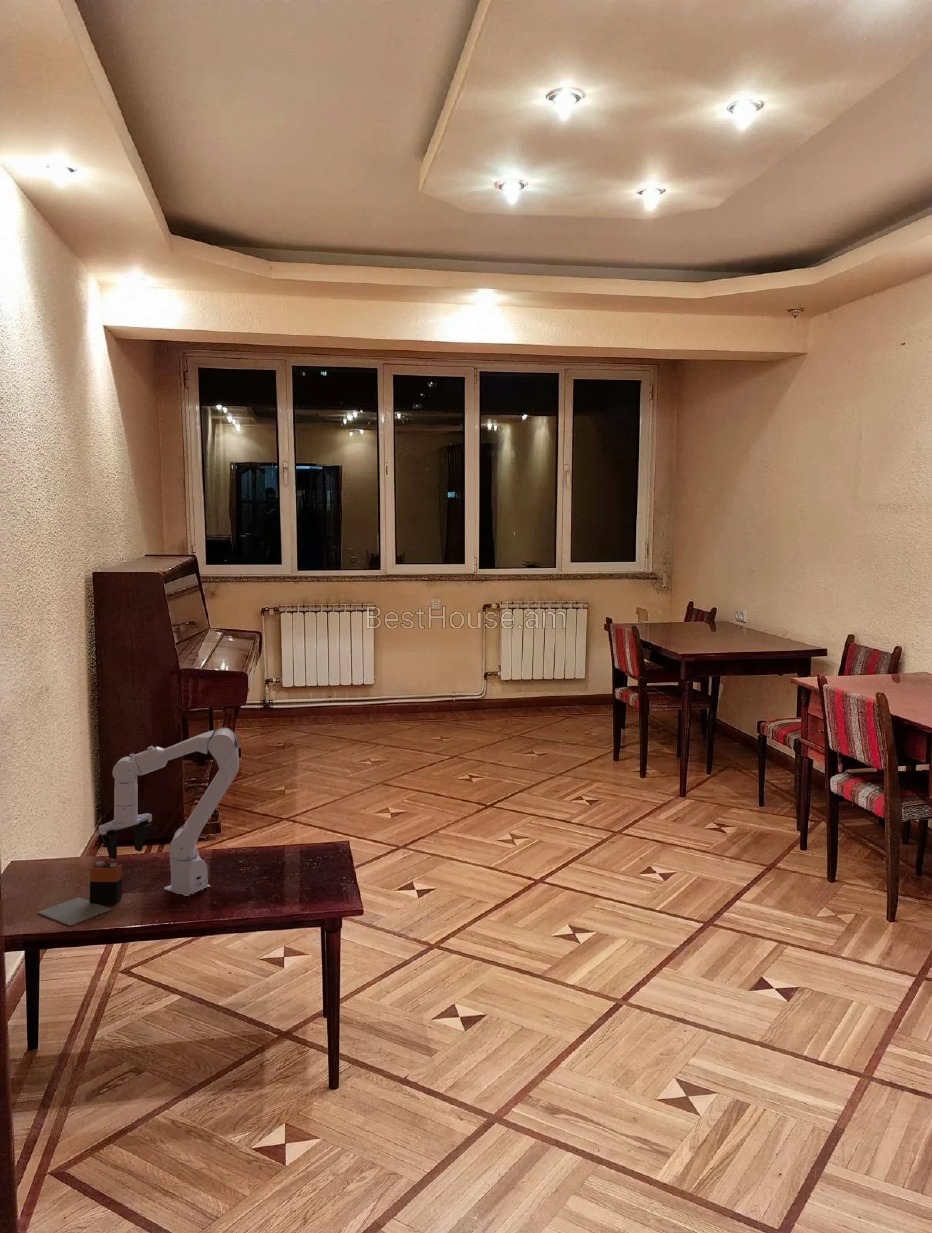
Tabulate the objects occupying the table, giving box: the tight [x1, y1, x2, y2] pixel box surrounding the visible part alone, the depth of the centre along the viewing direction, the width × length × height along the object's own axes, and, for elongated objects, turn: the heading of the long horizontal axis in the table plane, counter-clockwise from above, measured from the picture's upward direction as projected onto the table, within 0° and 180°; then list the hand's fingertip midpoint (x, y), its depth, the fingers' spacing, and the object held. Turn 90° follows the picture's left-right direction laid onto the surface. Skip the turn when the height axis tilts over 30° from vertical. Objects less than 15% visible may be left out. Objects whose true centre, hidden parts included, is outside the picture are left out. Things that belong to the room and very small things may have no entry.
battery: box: [89, 860, 123, 905], centre depth 222 cm, size 4×7×10 cm, turn 91°
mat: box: [37, 896, 112, 927], centre depth 216 cm, size 14×11×1 cm
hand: (125, 854), depth 227 cm, fingers open, 7 cm apart
